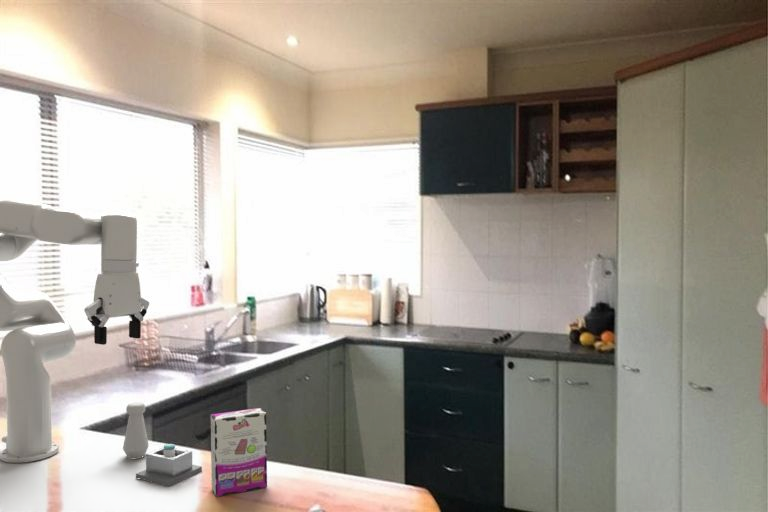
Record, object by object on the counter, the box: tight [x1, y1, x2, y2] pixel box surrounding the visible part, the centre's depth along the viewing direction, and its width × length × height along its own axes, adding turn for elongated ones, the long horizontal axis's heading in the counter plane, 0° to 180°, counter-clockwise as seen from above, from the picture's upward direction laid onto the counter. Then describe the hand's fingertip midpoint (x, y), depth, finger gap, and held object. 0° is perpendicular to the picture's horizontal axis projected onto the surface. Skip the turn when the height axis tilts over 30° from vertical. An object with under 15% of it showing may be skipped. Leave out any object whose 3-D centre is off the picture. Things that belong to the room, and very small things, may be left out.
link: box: [145, 446, 193, 478], centre depth 141 cm, size 8×6×4 cm
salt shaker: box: [122, 401, 149, 459], centre depth 153 cm, size 6×6×13 cm
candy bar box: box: [210, 407, 268, 497], centre depth 134 cm, size 11×5×16 cm, turn 118°
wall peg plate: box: [135, 443, 203, 487], centre depth 141 cm, size 10×10×7 cm
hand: (118, 340), depth 145 cm, fingers open, 9 cm apart
